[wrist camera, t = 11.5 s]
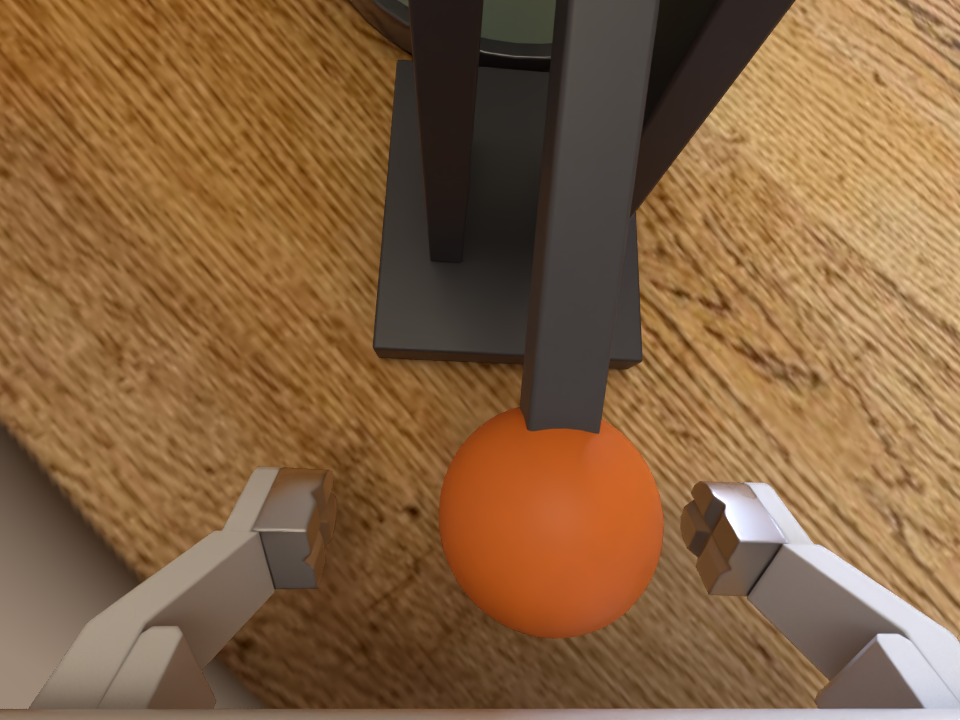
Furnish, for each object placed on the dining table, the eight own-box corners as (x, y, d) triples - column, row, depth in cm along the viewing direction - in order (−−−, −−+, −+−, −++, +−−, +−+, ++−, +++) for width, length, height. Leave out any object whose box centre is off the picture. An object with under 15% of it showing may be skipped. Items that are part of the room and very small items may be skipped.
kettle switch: (605, 538, 10) (683, 701, 7) (438, 534, 10) (428, 700, 6) (729, -266, 7) (1034, -826, 3) (475, -300, 6) (496, -944, 3)
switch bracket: (628, 369, 15) (1540, -93, 2) (378, 358, 14) (-56, -290, 2) (618, 104, 17) (1080, -859, 5) (400, 86, 17) (260, -1040, 4)
